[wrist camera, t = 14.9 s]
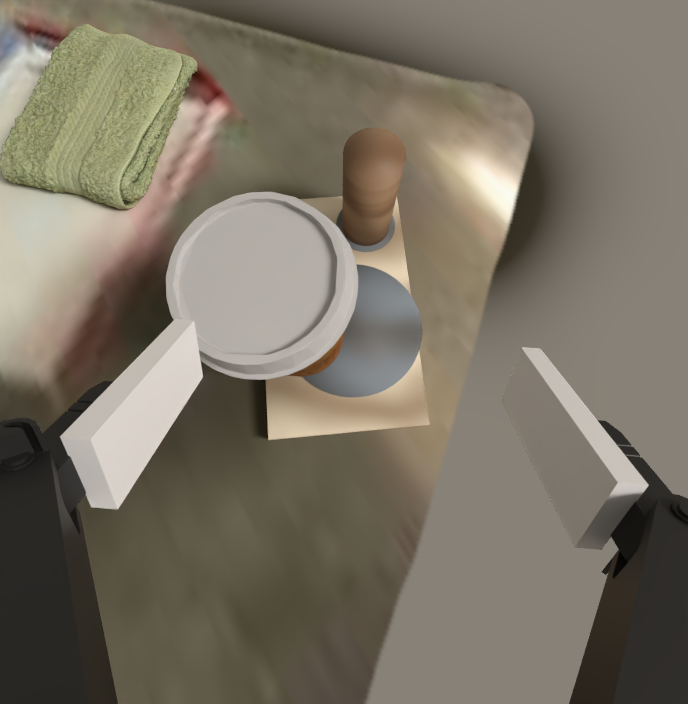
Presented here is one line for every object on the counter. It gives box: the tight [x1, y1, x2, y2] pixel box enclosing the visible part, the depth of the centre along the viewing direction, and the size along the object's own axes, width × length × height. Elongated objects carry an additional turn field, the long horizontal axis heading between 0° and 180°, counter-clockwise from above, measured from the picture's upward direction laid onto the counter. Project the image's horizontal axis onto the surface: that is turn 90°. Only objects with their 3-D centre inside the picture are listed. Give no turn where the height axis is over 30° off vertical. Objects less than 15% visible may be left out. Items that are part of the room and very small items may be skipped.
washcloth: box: [0, 24, 197, 209], centre depth 34 cm, size 13×18×3 cm
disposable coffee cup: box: [166, 192, 358, 380], centre depth 23 cm, size 10×10×12 cm
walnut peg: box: [342, 128, 406, 246], centre depth 28 cm, size 4×4×8 cm
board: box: [266, 196, 430, 440], centre depth 31 cm, size 20×12×1 cm, turn 5°
